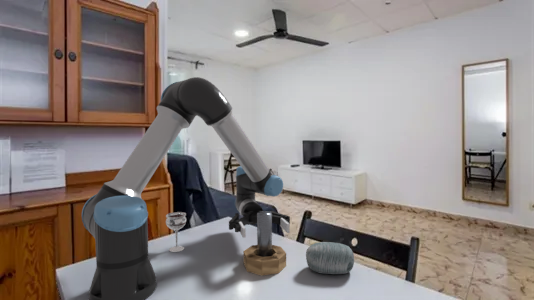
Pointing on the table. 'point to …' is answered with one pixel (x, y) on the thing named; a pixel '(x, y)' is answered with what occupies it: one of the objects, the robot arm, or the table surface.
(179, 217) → the wineglass
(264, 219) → the rod
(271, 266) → the brown thick faceted ring
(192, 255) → the table surface
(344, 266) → the grey yarn skein
